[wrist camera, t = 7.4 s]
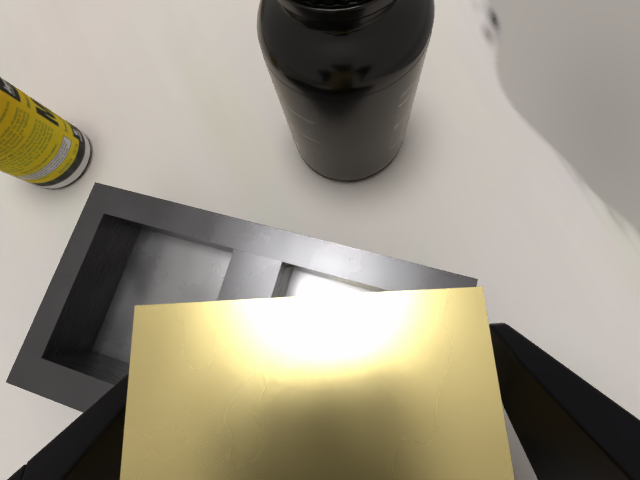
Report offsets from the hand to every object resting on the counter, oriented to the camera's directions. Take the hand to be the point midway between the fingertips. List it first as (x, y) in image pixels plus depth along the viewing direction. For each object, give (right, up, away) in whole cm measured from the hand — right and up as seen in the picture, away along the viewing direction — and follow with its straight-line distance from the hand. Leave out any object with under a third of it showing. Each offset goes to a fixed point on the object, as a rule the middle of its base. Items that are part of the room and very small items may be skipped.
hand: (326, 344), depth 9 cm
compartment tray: (-4, -2, +9) cm, 10 cm away
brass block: (+1, -3, +8) cm, 8 cm away
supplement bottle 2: (+2, +10, +11) cm, 15 cm away
